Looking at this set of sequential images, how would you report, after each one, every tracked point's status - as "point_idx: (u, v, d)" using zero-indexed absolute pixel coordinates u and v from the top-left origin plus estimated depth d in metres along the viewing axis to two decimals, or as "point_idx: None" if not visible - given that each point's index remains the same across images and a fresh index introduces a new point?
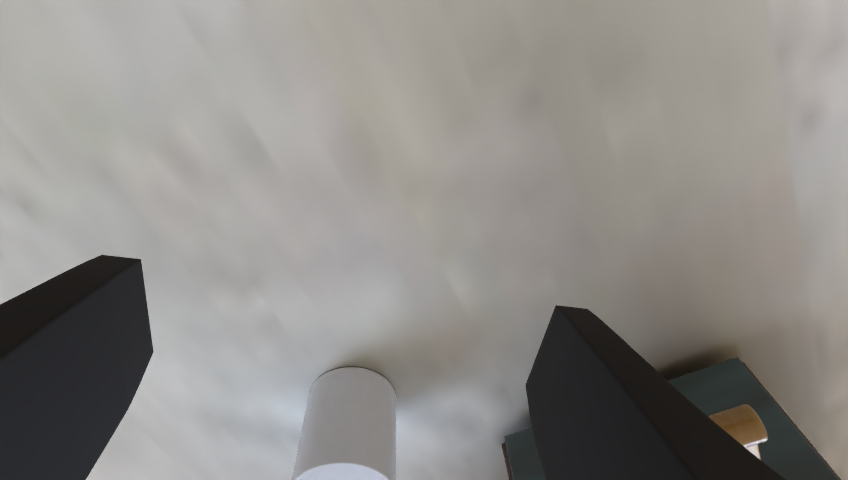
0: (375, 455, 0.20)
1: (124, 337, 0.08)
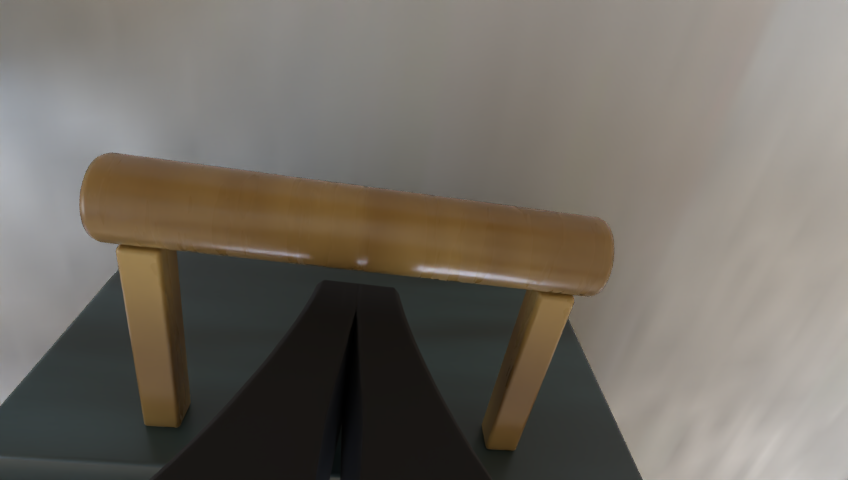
0: None
1: None
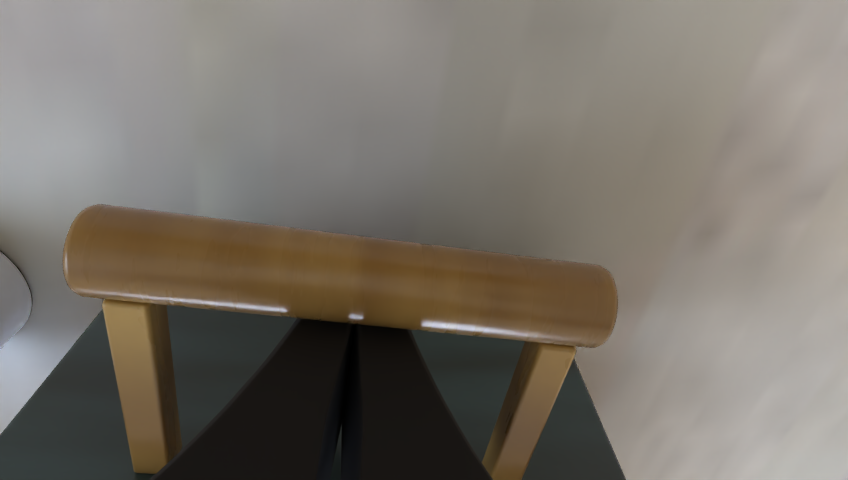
0: None
1: None
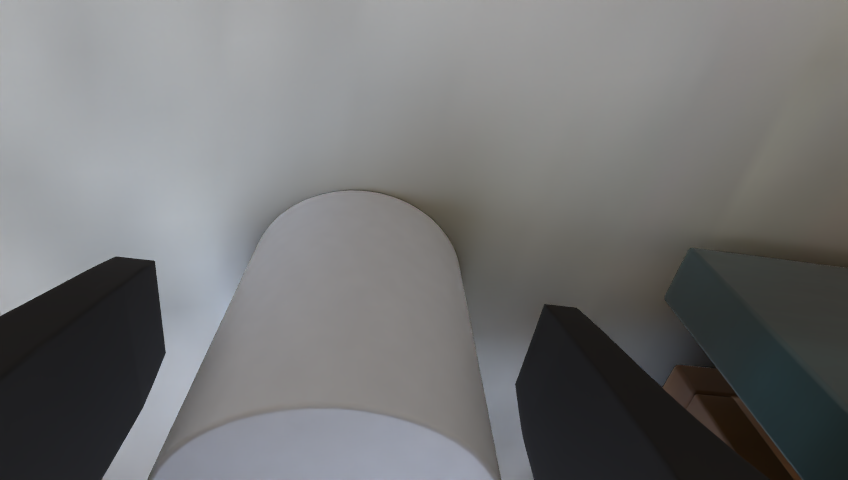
0: (494, 446, 0.06)
1: (138, 338, 0.08)
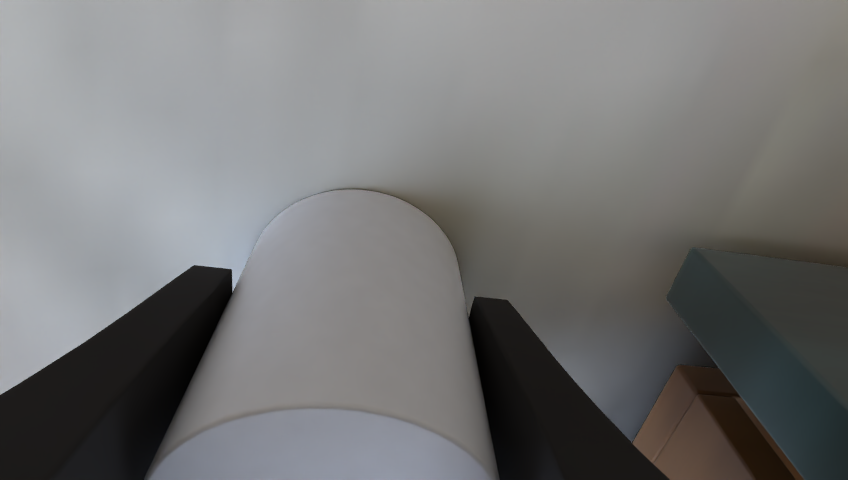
0: (492, 447, 0.06)
1: None
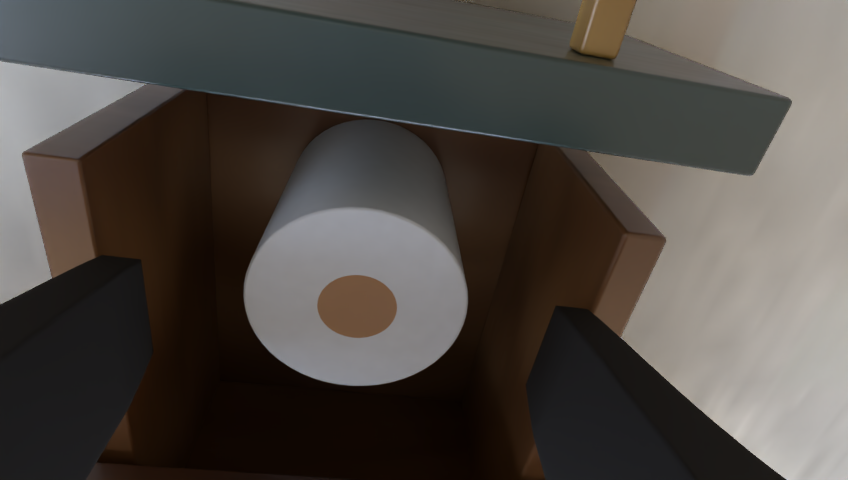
0: None
1: (124, 337, 0.08)
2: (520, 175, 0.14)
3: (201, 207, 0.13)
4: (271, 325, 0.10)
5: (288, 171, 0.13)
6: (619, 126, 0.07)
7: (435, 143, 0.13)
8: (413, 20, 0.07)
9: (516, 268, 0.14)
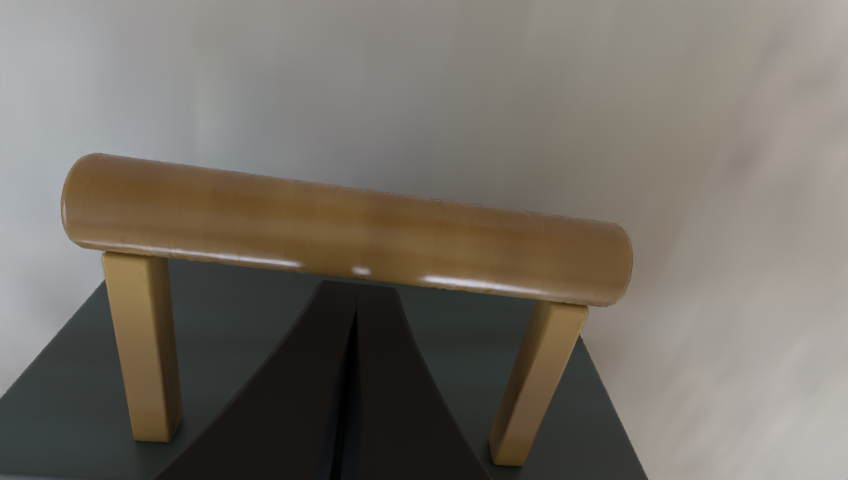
0: None
1: None
2: None
3: None
4: None
5: None
6: None
7: None
8: None
9: None
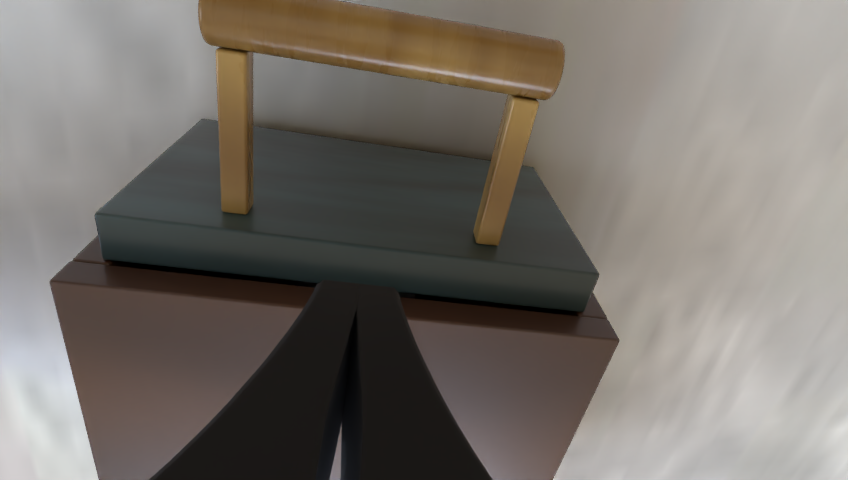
0: None
1: None
2: None
3: None
4: None
5: None
6: (498, 288, 0.12)
7: None
8: (377, 221, 0.12)
9: None
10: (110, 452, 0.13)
